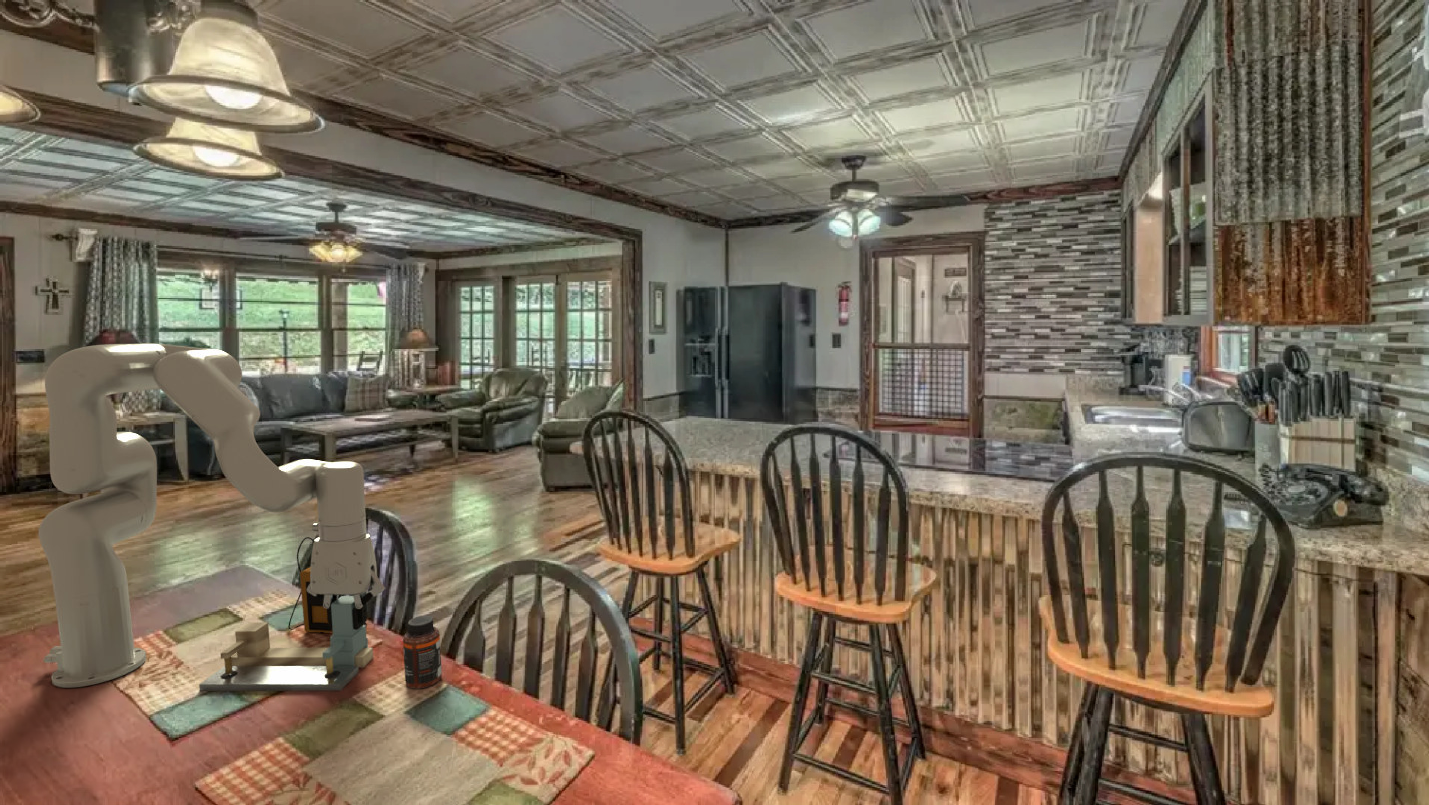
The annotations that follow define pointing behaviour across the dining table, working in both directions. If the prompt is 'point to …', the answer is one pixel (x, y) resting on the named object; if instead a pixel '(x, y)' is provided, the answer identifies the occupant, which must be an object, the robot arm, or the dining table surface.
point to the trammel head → (344, 635)
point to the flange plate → (280, 678)
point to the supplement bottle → (422, 653)
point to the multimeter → (312, 605)
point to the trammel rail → (275, 651)
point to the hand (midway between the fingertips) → (347, 625)
